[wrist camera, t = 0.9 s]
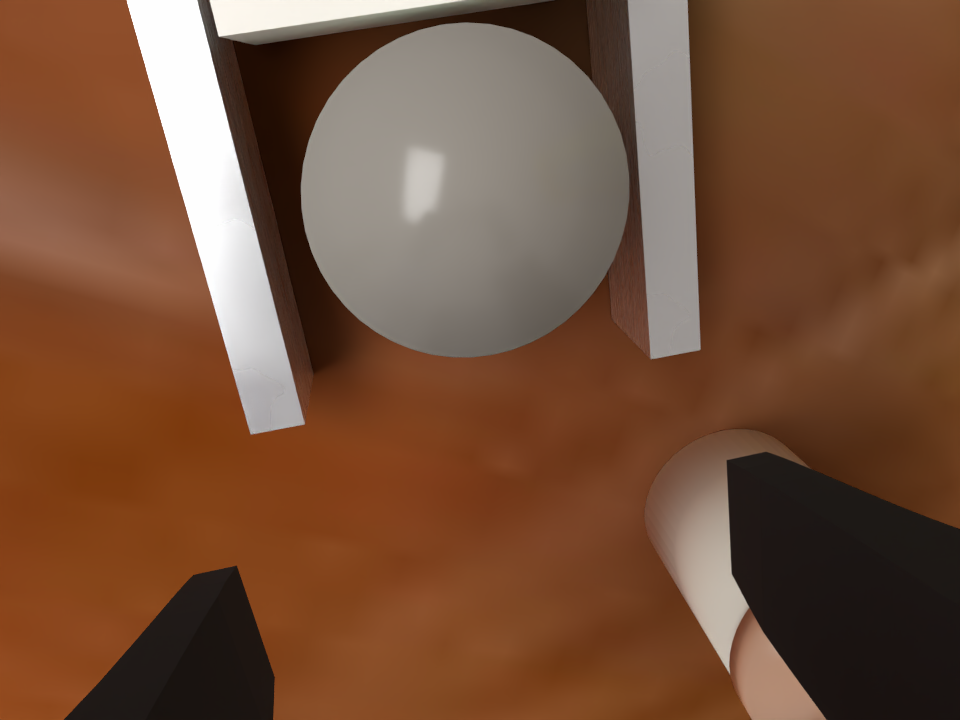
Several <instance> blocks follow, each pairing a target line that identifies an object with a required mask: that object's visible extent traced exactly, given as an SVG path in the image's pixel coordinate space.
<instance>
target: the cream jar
mask: <svg viewBox="0 0 960 720" xmlns="http://www.w3.org/2000/svg"><path fill="white" fill-rule="evenodd" d="M762 452H769V453H772V454H775V455H777V456H780V457H783V458H785V459H788V460H790V461H793V462H795V463H798V464H800V465H803V466H805V467H807V468H810V467H809V466H808V465H806V464H805V463H804V462H803V461H802V460H801V459H800V458H799V457H798V456H796V455H795V454H794V453H793V452H792V451H791V450H790V449H789V448H787V447H786V446H785V445H784V444H783V443H782V442H781V441H779V440H777V439H776V438H774V437H773V436H770V435H768V434H765V433H763V432H759V431H755V430H748V429H730V430H723V431H719V432H715V433H711V434H709V435H706V436H703V437H701V438H699V439H697V440H695V441H693V442H691V443H690V444H688V445H687V446H685V447H684V448H682V449H681V450H680V451H678V452H677V453H676V454H675V455H674V456H672V457H671V459H670V460H669V461H668V462H667V463H666V464H665V465H664V466H663V468H662V469H661V470H660V471H659V473H658V474H657V476H656V478H655V479H654V481H653V483H652V485H651V488H650V490H649V493H648V496H647V500H646V505H645V526H646V531H647V534H648V537H649V539H650V541H651V543H652V545H653V547H654V548H655V550H656V552H657V553H658V555H659V557H660V558H661V560H662V562H663V563H664V565H665V567H666V568H667V570H668V572H669V573H670V575H671V577H672V578H673V580H674V582H675V583H676V585H677V587H678V588H679V590H680V592H681V593H682V595H683V597H684V598H685V600H686V602H687V603H688V605H689V607H690V608H691V610H692V612H693V613H694V615H695V617H696V618H697V620H698V622H699V623H700V625H701V627H702V628H703V630H704V632H705V633H706V635H707V637H708V638H709V640H710V642H711V643H712V645H713V647H714V649H715V650H716V652H717V654H718V655H719V657H720V659H721V660H722V662H723V664H724V665H725V667H726V669H727V670H728V672H729V674H730V677H731V680H732V683H733V687H734V689H735V691H736V693H737V695H738V697H739V699H740V700H741V702H742V704H743V705H744V707H745V709H746V710H747V712H748V714H749V716H750V717H751V719H752V720H826V718H825V717H824V716H823V714H822V713H821V712H820V710H819V709H818V707H817V706H816V705H815V703H814V702H813V701H812V699H811V698H810V697H809V695H808V694H807V692H806V691H805V690H804V688H803V687H802V686H801V684H800V683H799V682H798V680H797V679H796V677H795V676H794V675H793V673H792V672H791V670H790V669H789V668H788V666H787V665H786V664H785V662H784V661H783V659H782V658H781V657H780V655H779V654H778V652H777V651H776V650H775V648H774V647H773V645H772V644H771V643H770V641H769V640H768V638H767V637H766V635H765V634H764V633H763V631H762V629H761V627H760V626H759V624H758V622H757V620H756V618H755V617H754V615H753V613H752V611H751V610H750V608H749V606H748V604H747V602H746V600H745V598H744V596H743V595H742V593H741V591H740V589H739V587H738V585H737V583H736V581H735V579H734V577H733V576H732V573H731V551H730V528H729V506H728V484H727V461H726V460H730V459H734V458H739V457H744V456H748V455H753V454H757V453H762ZM810 469H811V468H810Z"/></svg>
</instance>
